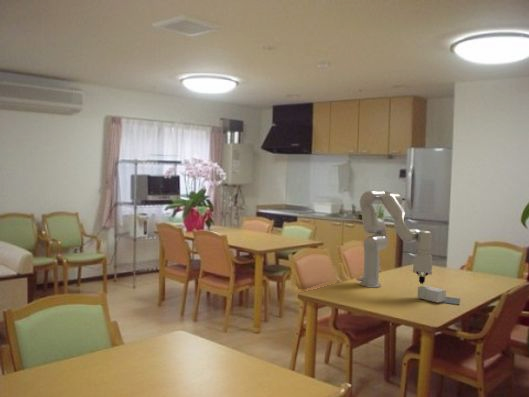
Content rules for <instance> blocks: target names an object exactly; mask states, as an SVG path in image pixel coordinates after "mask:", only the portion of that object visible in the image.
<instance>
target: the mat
mask: <svg viewBox="0 0 529 397" xmlns="http://www.w3.org/2000/svg"><path fill="white" fill-rule="evenodd" d="M424 301H426V302H433V301H429V300H425V299H424ZM460 302H461V298H459V297H450V296H445V301H442V302H438V303H440V304H446V305H447V304H448V305H452V306H453V305H454V306H460ZM433 303H434V302H433Z"/></svg>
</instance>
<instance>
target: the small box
mask: <svg viewBox="0 0 529 397" xmlns="http://www.w3.org/2000/svg"><path fill="white" fill-rule="evenodd" d="M446 292H447V290H446V289H442V288H438V287H434V286H429V285H421V286H417V298H418V299H422V300H424V301H425V300H429V301H428V302H431V301H433V303H439V302H442V301H445V297H447V296H446V295H447V294H446Z"/></svg>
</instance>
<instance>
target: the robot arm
mask: <svg viewBox="0 0 529 397" xmlns="http://www.w3.org/2000/svg"><path fill="white" fill-rule="evenodd" d="M377 204H378V205H379V204H381V205H383V206H384V207H385V210H386V211H387V212H388V214H389V215H390V216H391V219H392V220H393V227H394V231H395V232H396V234H397V235H398V236H399V238H400V239H401V240H402V241H403V242H405V243H414V242H416V243H417V246H416V248H414V250H413V251H414V252H415V254H414V257H413V268H412V273H415V274H417V276H418V282H419V284H420V285H424V283H426V282H425V281H426V277H427V276H428V275H433V271H432V270H433V256H432V254H431V249H432V237H433V236H432V232H431V231H429V230H422V229H418V228H410V229H409V228H408V226H407V224H406V223H405V219H404V218H405V216H406V210H405V209H404V208H403V206H402V204H403V197H402V195H400V194H399V193H397V192H392V191H386V190H375V189H371V190H367V191H365V192H363V194H361V196H360V198H359V208H360V211H361V219H362V226H363V230H364V232H365V233H367V234H372V235H368V236H366V237H365V239H364V241H363V252H364V254H363V255H364V256H363V257H364V258H363V277H362V276H361V277H357V276H356V281H358V282H360V286H363V287H366V288H367V287H368V288H380V287H381V286H382V284H381V283H380V281H379V278H380V260H381V258H380V252H379V251H380V250H381V251H382V250H385V249H386V248H387V247H388V244H389V243H388V242H389V241H388V239H389V238H388V233H387V227H386V223H385V221H384V219H382V218H379V217H377V215H376V210H375V207H374V206H373V205H377ZM422 273H423V274H422Z"/></svg>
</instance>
